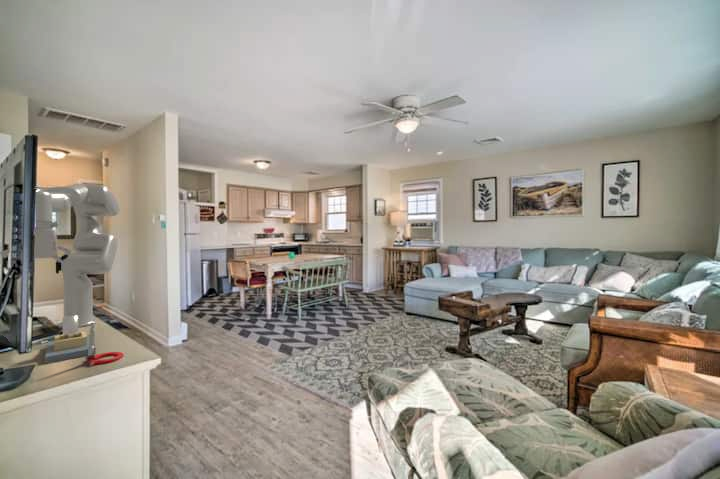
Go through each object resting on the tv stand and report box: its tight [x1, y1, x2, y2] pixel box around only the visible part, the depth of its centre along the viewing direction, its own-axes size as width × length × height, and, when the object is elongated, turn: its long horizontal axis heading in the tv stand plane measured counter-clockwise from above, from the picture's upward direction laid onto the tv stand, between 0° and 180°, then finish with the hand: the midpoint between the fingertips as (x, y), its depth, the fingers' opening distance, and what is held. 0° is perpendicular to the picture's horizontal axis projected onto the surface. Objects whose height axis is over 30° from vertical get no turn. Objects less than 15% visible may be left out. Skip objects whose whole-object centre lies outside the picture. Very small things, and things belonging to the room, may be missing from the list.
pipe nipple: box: [62, 315, 79, 340], centre depth 108 cm, size 4×4×10 cm
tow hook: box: [85, 322, 124, 367], centre depth 101 cm, size 8×13×9 cm
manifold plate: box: [44, 330, 96, 364], centre depth 108 cm, size 18×12×5 cm, turn 44°
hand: (38, 274), depth 110 cm, fingers open, 9 cm apart
